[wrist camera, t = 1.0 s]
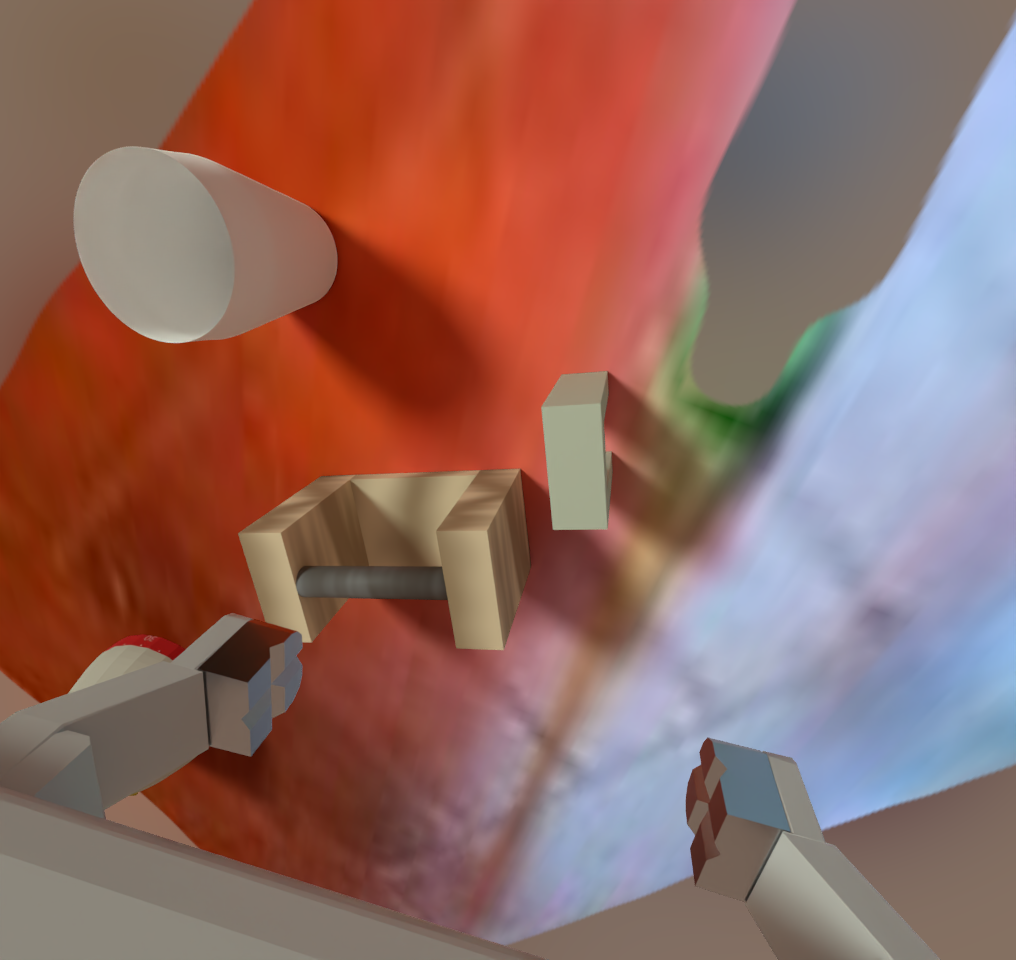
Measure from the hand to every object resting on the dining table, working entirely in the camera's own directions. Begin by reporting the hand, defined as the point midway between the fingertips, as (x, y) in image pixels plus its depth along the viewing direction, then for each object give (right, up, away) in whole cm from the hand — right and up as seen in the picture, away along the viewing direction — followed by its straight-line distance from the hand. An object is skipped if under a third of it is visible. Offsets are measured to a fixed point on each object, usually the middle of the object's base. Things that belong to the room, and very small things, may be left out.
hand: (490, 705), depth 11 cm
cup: (-14, +20, +26) cm, 36 cm away
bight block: (+6, +8, +26) cm, 28 cm away
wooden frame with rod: (-6, +1, +32) cm, 32 cm away
